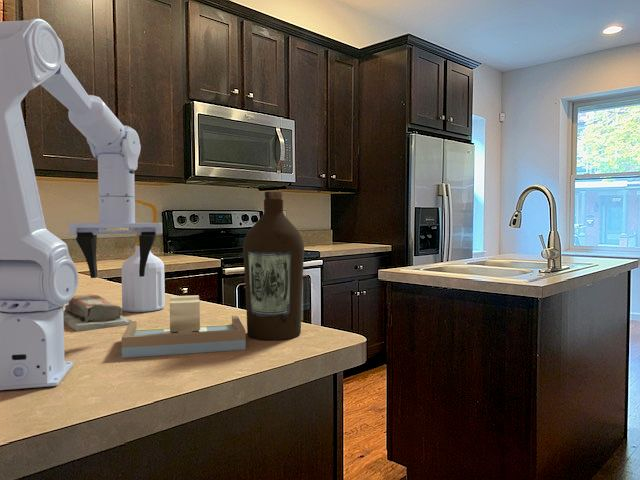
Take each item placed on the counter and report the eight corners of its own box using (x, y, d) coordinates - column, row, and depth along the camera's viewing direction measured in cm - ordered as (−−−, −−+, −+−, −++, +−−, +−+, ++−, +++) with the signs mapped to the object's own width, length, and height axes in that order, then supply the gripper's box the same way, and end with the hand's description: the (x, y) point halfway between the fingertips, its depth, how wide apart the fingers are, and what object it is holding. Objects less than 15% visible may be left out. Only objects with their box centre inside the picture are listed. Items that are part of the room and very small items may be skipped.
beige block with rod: (200, 337, 78) (199, 301, 78) (170, 339, 77) (169, 303, 77) (198, 327, 86) (198, 294, 86) (171, 328, 85) (171, 295, 85)
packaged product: (54, 295, 104) (105, 291, 110) (55, 318, 104) (105, 313, 110) (75, 307, 90) (132, 301, 96) (76, 334, 90) (132, 326, 96)
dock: (245, 349, 77) (245, 330, 77) (121, 357, 73) (121, 337, 73) (237, 332, 89) (237, 315, 89) (130, 338, 84) (130, 321, 84)
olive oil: (251, 327, 94) (250, 193, 92) (307, 328, 92) (307, 193, 91) (236, 340, 83) (235, 190, 82) (299, 342, 82) (299, 190, 81)
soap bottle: (121, 307, 114) (119, 200, 113) (162, 304, 118) (160, 200, 117) (123, 314, 106) (121, 198, 105) (167, 310, 110) (166, 199, 109)
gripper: (162, 198, 90) (163, 273, 91) (75, 197, 87) (76, 275, 87) (160, 196, 84) (161, 277, 84) (65, 195, 80) (67, 280, 80)
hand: (118, 276), depth 85 cm, fingers open, 7 cm apart
